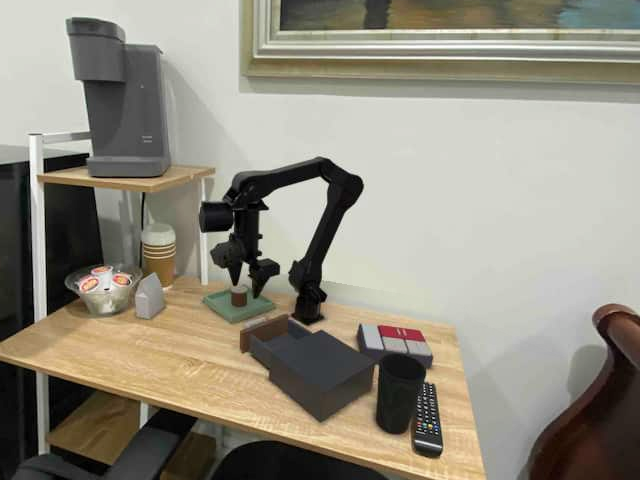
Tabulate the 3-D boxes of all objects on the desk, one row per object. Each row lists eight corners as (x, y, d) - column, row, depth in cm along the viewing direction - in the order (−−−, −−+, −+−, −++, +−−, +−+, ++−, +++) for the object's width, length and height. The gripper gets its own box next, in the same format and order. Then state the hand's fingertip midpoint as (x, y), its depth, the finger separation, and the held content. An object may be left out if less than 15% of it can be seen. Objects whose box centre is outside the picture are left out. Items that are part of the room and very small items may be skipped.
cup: (364, 407, 73) (373, 353, 69) (404, 406, 74) (415, 352, 69) (377, 440, 66) (388, 381, 61) (421, 438, 66) (434, 381, 62)
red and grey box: (435, 355, 84) (365, 345, 84) (430, 371, 85) (361, 362, 86) (421, 328, 94) (359, 320, 94) (417, 343, 95) (356, 335, 96)
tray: (244, 289, 117) (244, 283, 117) (274, 308, 107) (275, 301, 107) (203, 302, 108) (203, 295, 108) (231, 323, 98) (231, 316, 98)
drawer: (229, 340, 90) (229, 322, 88) (273, 323, 98) (274, 306, 96) (278, 380, 77) (279, 360, 76) (325, 357, 86) (327, 338, 84)
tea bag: (163, 307, 104) (161, 273, 101) (149, 319, 98) (146, 283, 95) (151, 305, 105) (149, 270, 102) (136, 316, 99) (133, 280, 96)
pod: (241, 298, 111) (241, 284, 109) (250, 304, 108) (250, 289, 106) (227, 302, 108) (227, 287, 106) (237, 309, 105) (237, 293, 103)
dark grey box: (268, 379, 79) (270, 352, 76) (319, 354, 88) (321, 329, 86) (320, 423, 69) (324, 392, 66) (371, 389, 78) (376, 361, 75)
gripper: (194, 224, 89) (195, 286, 95) (240, 247, 76) (239, 317, 82) (234, 218, 96) (234, 276, 102) (283, 238, 83) (279, 303, 88)
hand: (244, 292), depth 93 cm, fingers open, 8 cm apart
